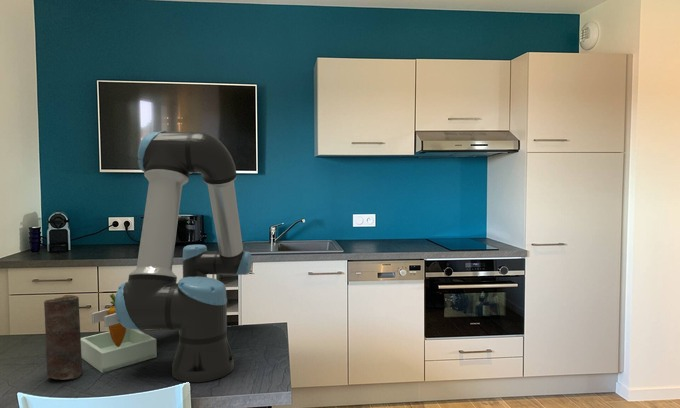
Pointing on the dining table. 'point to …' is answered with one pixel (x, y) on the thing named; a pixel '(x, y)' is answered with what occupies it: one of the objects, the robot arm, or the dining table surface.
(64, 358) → the candle
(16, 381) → the dining table surface
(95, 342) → the bin
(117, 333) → the carrot
